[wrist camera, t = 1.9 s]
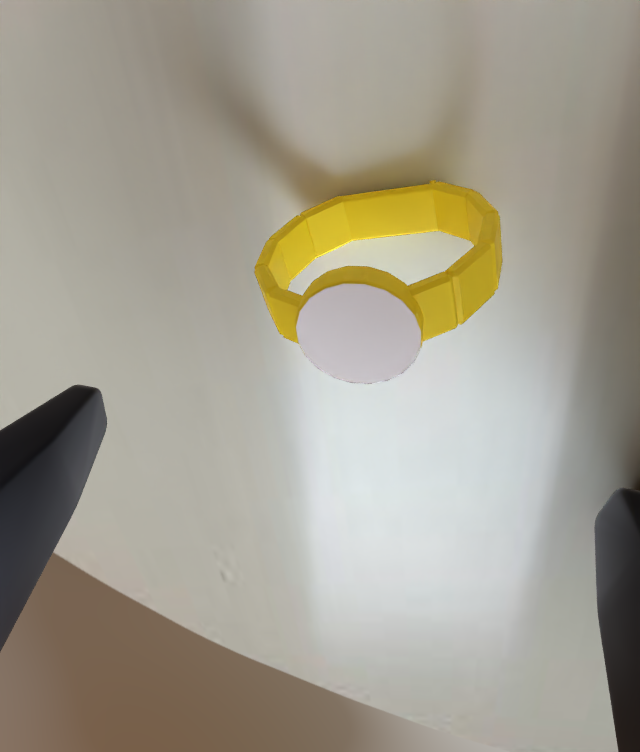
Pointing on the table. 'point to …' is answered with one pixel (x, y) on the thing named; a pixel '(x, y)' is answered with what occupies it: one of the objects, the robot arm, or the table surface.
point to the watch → (379, 278)
